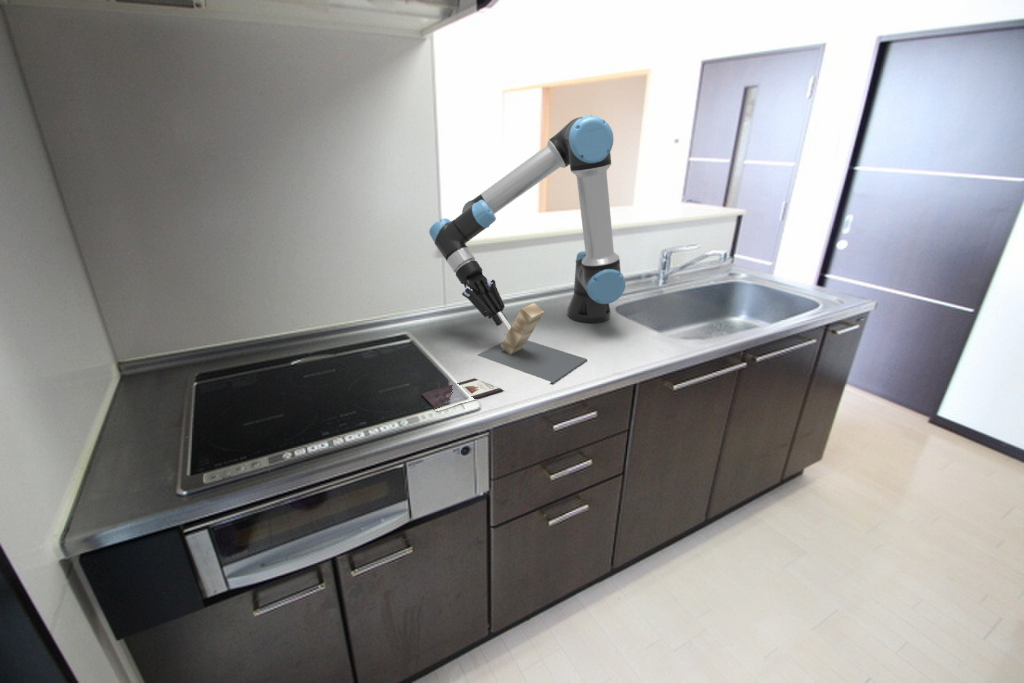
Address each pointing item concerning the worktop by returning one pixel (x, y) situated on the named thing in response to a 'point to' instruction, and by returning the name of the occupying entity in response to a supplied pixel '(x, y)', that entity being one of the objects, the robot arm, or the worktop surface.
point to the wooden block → (522, 328)
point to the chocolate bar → (471, 386)
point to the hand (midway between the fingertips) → (508, 332)
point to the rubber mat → (536, 360)
